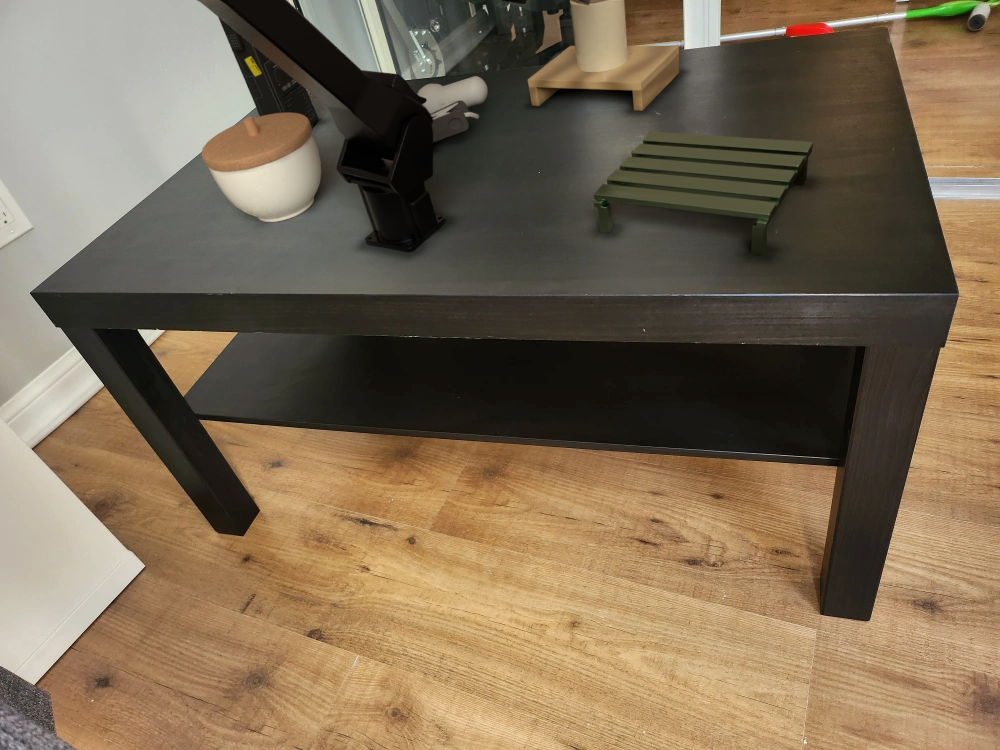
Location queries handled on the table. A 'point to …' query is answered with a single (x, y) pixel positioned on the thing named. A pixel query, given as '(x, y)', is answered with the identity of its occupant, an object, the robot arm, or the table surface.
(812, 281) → the table surface
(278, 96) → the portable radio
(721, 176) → the rack
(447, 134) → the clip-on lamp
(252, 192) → the lidded bowl
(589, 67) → the cup
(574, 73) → the shelf
